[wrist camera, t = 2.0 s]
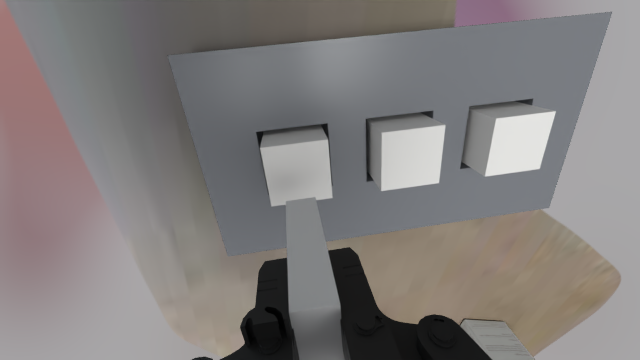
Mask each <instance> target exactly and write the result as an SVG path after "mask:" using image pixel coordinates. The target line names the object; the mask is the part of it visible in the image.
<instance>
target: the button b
mask: <svg viewBox="0 0 640 360" xmlns="http://www.w3.org/2000/svg"><path fill="white" fill-rule="evenodd" d="M445 126H446V125H445V124H443V123H441V122H439V121H436V120H434V119H432V118H430V117H428V116H426V115H424V114H422V113H420V112H417V113H409V114H400V115H392V116H384V117H375V118H367V119H366V170H367V171H368V173H369V174H370V176H371V177H372V178H373V180H374V181H375V183H376V184H377V186H378V187H379V189H380V190H381V191H386V190H393V189H400V188H408V187H415V186H422V185H429V184H436V183H439V179H440V170H441V161H442V152H443V143H444V134H445Z"/></svg>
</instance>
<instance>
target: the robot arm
mask: <svg viewBox="0 0 640 360" xmlns="http://www.w3.org/2000/svg"><path fill="white" fill-rule="evenodd" d="M286 232H287V258H283V259H277V260H270V261H265V262H264V264H263V265H262V267H261V269H260V270H259V275H258V285H257V295H256V305H255V308H254V309H252V310H251V311H249V312H248V313H247V315H246V316H245V317H244V318H243V321H242V323H241V326H240V328H241V331H242V335H243V338H244V341H245V344H244V345H243V346H242V347H241V348H240V349H239V350H237V351H236V352H234V353H232V354H230V355H228V356H226V357H224V358H222V359H220V360H492V359H491V358H490V357H489V356H488V355H487V354H486V353H485V352H484V350H483V349H482V348H481V347H480V346H479V345H478V344H477V343H476V342H475V341H474V340H473V339H472V338H471V337H470V336H469V335H468V334H467V333H466V332H465V331H464V329H463V328H462V327H461V326H460V325H458V324H457V323H456V322H455V321H453V320H452V319H450V318H447V317H445V316H442V315H434V314H433V315H429V316H425V317H424V318H423V319H421V320H420V321H419V323H418V324H410V323H403V322H398V321H394V320H392V319H390V318H388V317H387V316H385V315H384V314H383V313H382V312H381V311H380V310H379V308H378V307H377V305H376V302H375V300H374V297H373V294H372V292H371V289H370V286H369V284H368V281H367V278H366V276H365V274H364V270H363V268H362V266H361V262H360V260H359V257H358V255H357V254H356V253H355V252H354V251H353V250H352V249H351V248H350V247H349V248H342V249H336V250H329V251H328V249H327V245H326V241H325V236H324V232H323V228H322V224H321V219H320V215H319V211H318V206H317V202H316V198H315V197H312V198H305V199H298V200H291V201H286ZM192 360H213V359H211V358H208V357H199V358H194V359H192Z"/></svg>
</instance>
